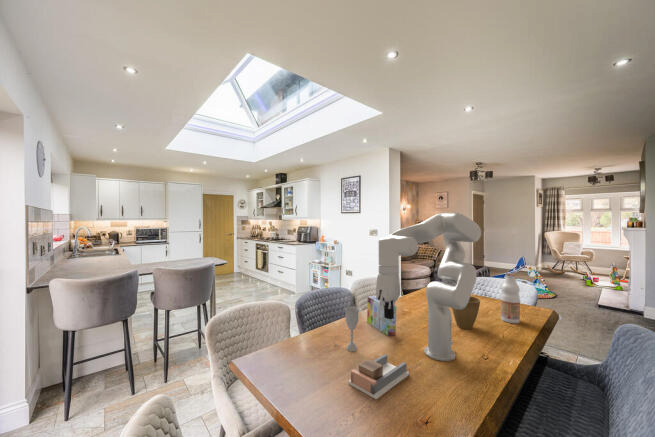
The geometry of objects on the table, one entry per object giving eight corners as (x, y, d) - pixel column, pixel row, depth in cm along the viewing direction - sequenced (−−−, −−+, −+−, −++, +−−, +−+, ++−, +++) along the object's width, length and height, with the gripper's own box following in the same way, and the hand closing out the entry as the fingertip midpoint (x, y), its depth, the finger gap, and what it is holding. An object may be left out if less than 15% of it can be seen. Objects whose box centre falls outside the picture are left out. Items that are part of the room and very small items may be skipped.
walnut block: (368, 375, 102) (369, 359, 102) (382, 382, 97) (382, 365, 97) (358, 381, 97) (358, 364, 97) (372, 389, 93) (372, 371, 93)
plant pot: (477, 334, 142) (477, 303, 142) (447, 327, 151) (447, 298, 151) (482, 326, 154) (482, 297, 154) (453, 320, 163) (453, 293, 163)
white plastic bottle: (498, 320, 163) (499, 273, 163) (503, 317, 170) (503, 271, 170) (517, 325, 156) (517, 275, 157) (521, 321, 163) (521, 273, 163)
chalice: (341, 346, 127) (341, 307, 128) (354, 344, 130) (355, 305, 130) (348, 353, 121) (348, 312, 121) (362, 350, 123) (362, 310, 123)
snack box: (396, 335, 141) (396, 305, 141) (387, 336, 139) (387, 306, 139) (374, 321, 161) (375, 295, 161) (366, 322, 159) (366, 296, 159)
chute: (382, 362, 113) (382, 350, 113) (408, 374, 104) (409, 361, 104) (348, 383, 98) (348, 369, 98) (376, 399, 90) (376, 383, 90)
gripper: (391, 266, 113) (391, 311, 113) (368, 271, 102) (369, 320, 102) (407, 268, 107) (408, 315, 107) (385, 274, 97) (386, 326, 97)
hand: (389, 318), depth 105 cm, fingers closed
